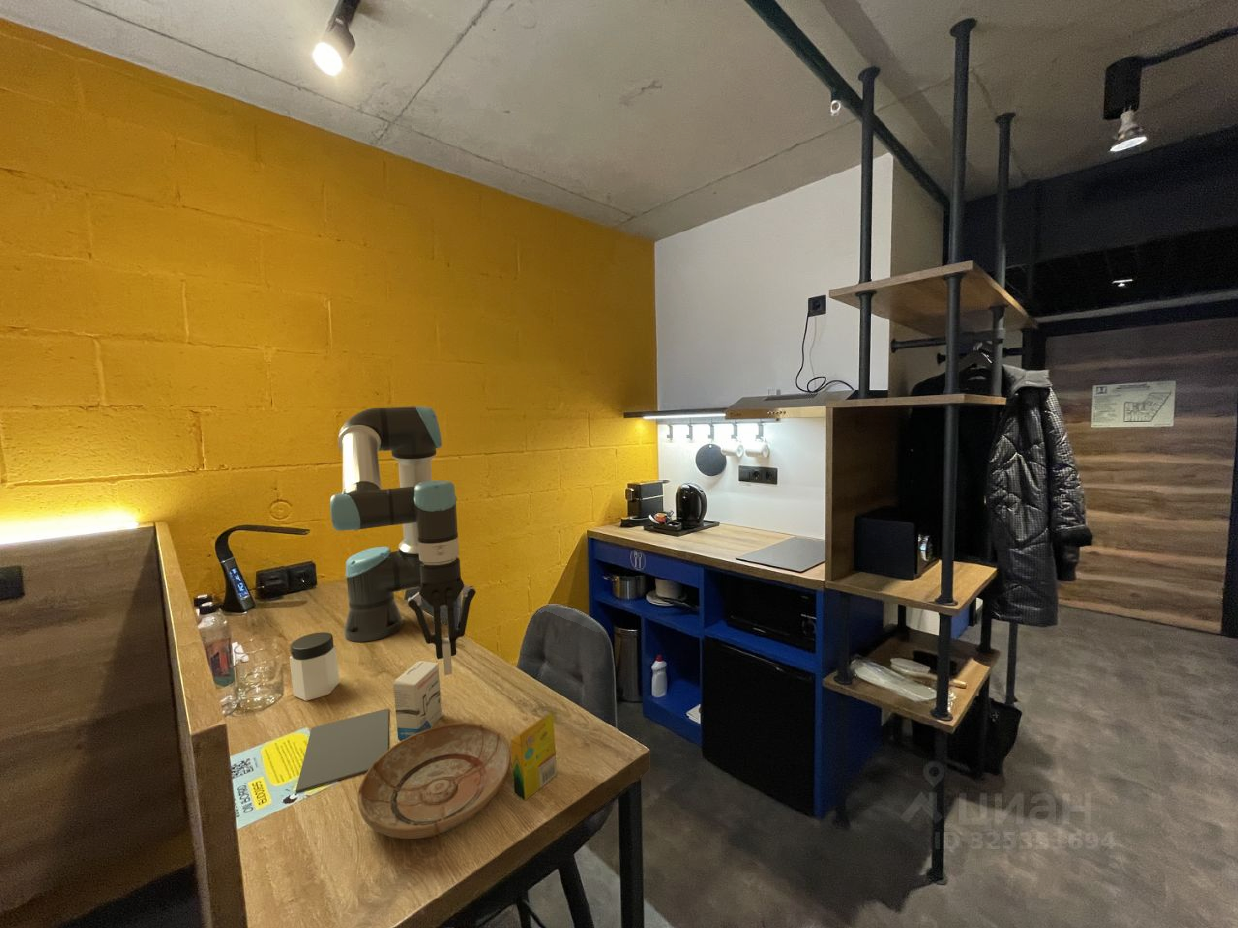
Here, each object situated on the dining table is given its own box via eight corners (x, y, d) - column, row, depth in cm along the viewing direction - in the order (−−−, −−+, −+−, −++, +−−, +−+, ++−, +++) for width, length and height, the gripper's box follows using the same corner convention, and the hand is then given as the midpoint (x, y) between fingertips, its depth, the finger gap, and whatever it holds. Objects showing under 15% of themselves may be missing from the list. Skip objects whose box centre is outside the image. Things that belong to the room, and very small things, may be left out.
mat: (311, 729, 99) (311, 727, 99) (388, 709, 104) (388, 708, 104) (295, 792, 82) (295, 790, 82) (387, 765, 88) (387, 763, 88)
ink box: (419, 742, 94) (414, 685, 93) (396, 739, 95) (391, 682, 94) (443, 714, 102) (439, 661, 101) (422, 712, 103) (418, 659, 102)
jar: (310, 679, 117) (305, 631, 115) (345, 677, 117) (340, 630, 116) (286, 702, 108) (280, 650, 107) (324, 700, 108) (318, 649, 107)
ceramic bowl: (403, 745, 93) (400, 721, 93) (525, 745, 93) (524, 721, 92) (327, 858, 70) (324, 827, 70) (489, 859, 70) (487, 827, 69)
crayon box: (546, 767, 87) (543, 705, 85) (558, 774, 85) (555, 712, 84) (513, 793, 81) (509, 728, 80) (524, 801, 79) (521, 735, 78)
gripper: (404, 570, 91) (414, 689, 94) (476, 559, 96) (483, 672, 99) (403, 559, 98) (412, 670, 101) (470, 549, 103) (477, 655, 106)
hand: (447, 671), depth 100 cm, fingers closed
